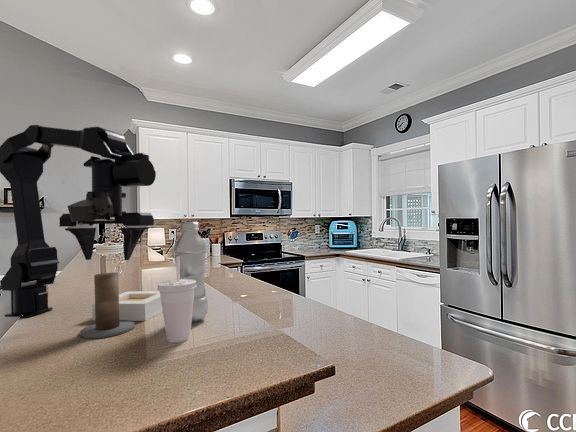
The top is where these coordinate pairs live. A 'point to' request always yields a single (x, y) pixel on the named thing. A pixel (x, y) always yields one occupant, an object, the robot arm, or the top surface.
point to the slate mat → (92, 333)
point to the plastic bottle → (193, 265)
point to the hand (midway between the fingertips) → (107, 259)
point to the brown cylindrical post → (106, 301)
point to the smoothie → (177, 306)
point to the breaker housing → (137, 305)
